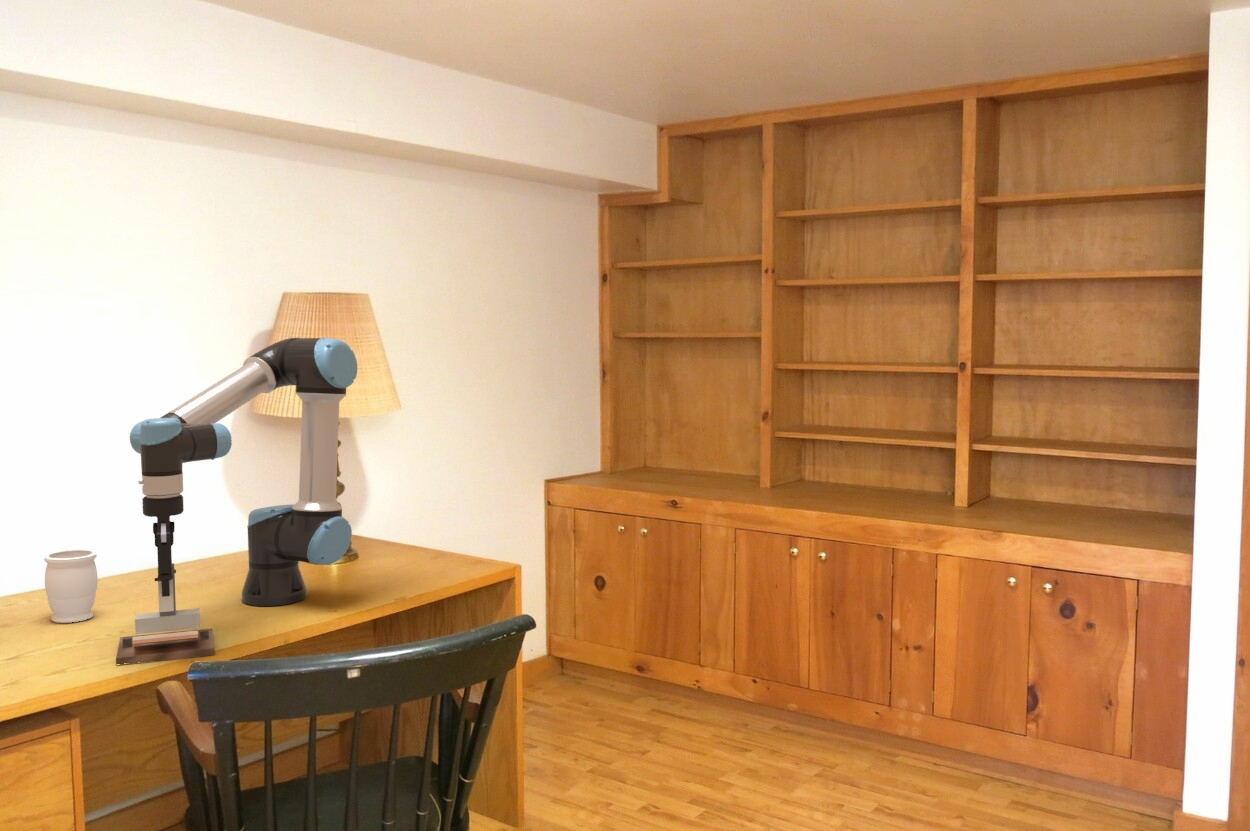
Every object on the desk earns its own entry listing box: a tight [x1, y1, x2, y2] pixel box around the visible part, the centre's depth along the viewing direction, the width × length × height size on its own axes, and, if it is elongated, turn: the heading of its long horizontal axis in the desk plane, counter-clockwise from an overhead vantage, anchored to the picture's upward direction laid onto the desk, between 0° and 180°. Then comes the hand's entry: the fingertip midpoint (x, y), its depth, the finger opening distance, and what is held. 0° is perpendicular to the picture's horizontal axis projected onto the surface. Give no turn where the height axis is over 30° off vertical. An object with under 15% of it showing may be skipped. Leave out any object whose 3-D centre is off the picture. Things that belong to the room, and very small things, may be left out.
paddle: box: [134, 563, 201, 635], centre depth 207 cm, size 12×4×13 cm, turn 114°
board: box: [115, 628, 215, 665], centre depth 211 cm, size 18×15×3 cm
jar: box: [43, 549, 98, 624], centre depth 232 cm, size 11×10×15 cm
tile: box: [133, 630, 198, 645], centre depth 207 cm, size 12×7×1 cm, turn 114°
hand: (166, 608), depth 207 cm, fingers closed on paddle, 3 cm apart
